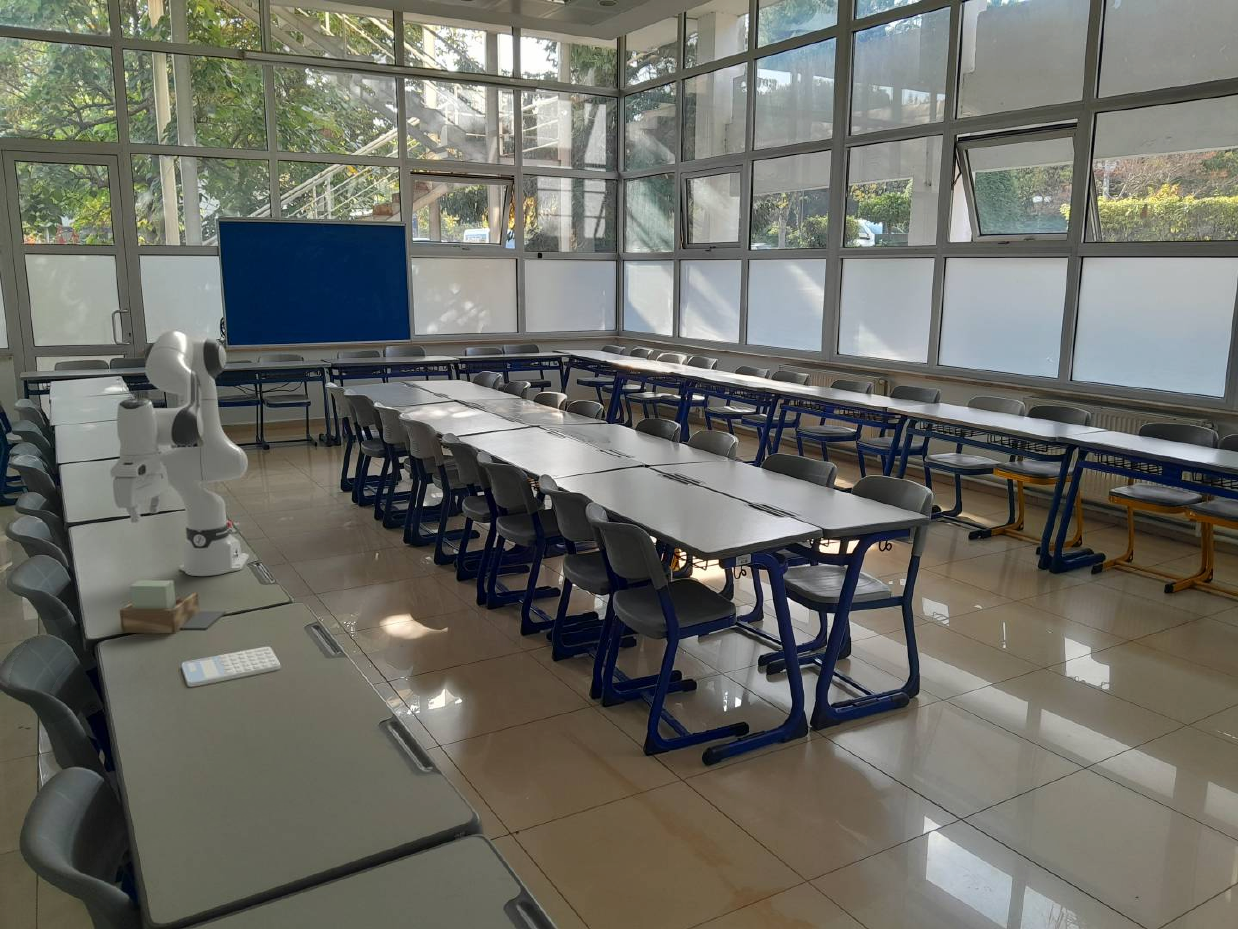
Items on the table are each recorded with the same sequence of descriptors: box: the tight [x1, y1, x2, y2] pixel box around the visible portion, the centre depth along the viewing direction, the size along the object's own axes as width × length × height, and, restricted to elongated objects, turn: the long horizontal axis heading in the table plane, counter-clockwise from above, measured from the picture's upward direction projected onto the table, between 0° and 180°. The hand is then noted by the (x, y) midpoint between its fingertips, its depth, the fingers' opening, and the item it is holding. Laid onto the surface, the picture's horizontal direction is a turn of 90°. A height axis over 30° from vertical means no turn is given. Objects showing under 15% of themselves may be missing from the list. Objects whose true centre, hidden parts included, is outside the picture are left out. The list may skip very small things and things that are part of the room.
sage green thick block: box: [129, 579, 176, 609], centre depth 236 cm, size 4×9×12 cm, turn 91°
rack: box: [119, 591, 200, 634], centre depth 240 cm, size 14×14×6 cm
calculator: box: [181, 646, 282, 688], centre depth 213 cm, size 13×20×2 cm, turn 121°
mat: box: [180, 610, 226, 631], centre depth 242 cm, size 12×7×1 cm, turn 1°
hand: (145, 517), depth 232 cm, fingers open, 8 cm apart
